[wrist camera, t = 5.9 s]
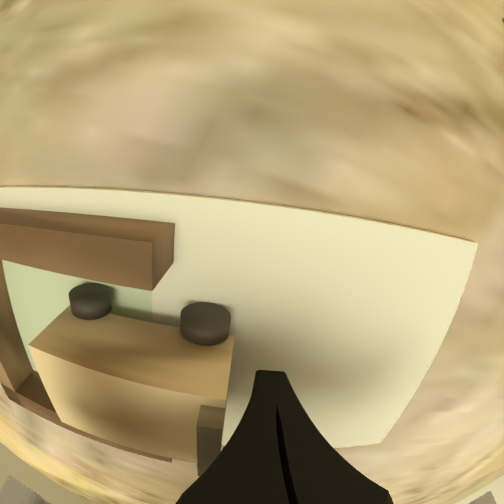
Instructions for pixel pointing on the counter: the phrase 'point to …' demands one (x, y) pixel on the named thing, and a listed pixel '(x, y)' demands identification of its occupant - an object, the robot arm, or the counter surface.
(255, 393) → the robot arm
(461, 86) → the counter surface
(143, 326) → the tan box with knobs
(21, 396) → the bay
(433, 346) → the dock board
